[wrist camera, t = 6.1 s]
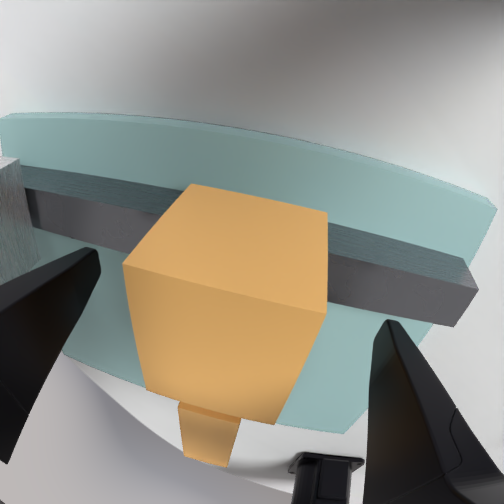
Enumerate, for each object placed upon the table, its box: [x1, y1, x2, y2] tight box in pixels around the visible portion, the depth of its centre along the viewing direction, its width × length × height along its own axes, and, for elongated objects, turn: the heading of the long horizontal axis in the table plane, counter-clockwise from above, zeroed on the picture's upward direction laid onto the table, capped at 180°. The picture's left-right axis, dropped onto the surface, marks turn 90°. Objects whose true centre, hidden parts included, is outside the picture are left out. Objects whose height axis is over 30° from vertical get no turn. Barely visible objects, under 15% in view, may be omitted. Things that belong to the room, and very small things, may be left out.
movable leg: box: [122, 183, 328, 468], centre depth 11 cm, size 11×4×6 cm, turn 173°
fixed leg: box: [0, 156, 41, 285], centre depth 12 cm, size 11×4×6 cm, turn 173°
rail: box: [21, 165, 479, 327], centre depth 12 cm, size 2×22×2 cm, turn 82°
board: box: [0, 113, 497, 434], centre depth 16 cm, size 19×23×1 cm
